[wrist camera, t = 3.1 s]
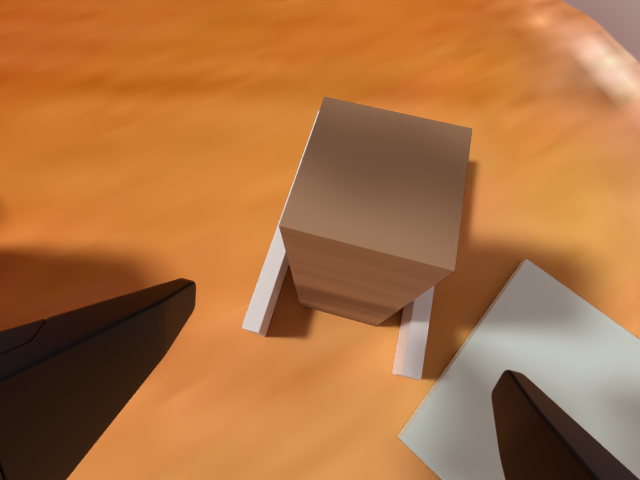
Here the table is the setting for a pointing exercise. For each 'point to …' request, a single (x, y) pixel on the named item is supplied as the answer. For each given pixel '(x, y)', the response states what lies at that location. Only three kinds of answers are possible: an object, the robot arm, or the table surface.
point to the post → (374, 210)
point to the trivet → (531, 378)
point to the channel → (412, 321)
